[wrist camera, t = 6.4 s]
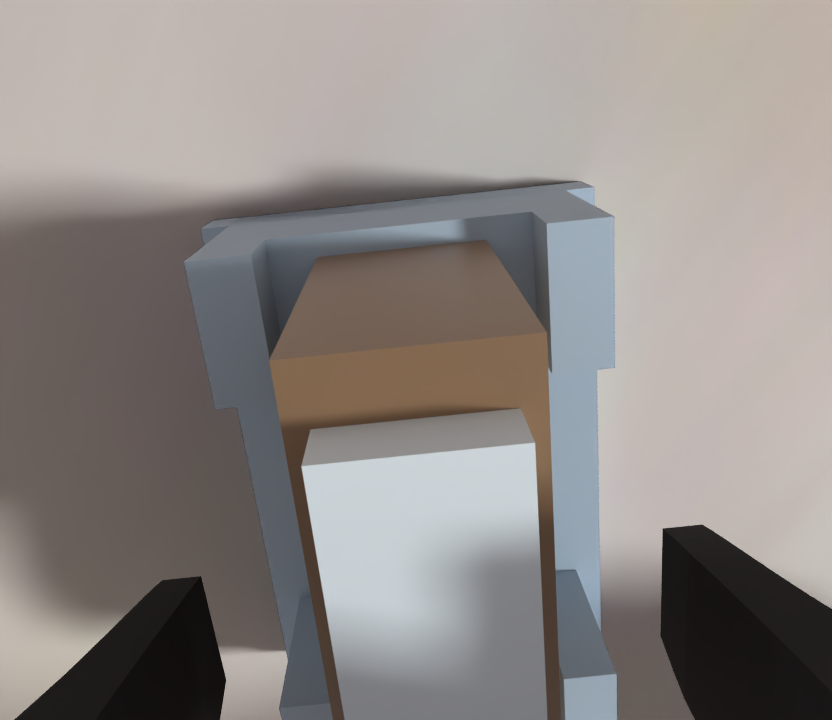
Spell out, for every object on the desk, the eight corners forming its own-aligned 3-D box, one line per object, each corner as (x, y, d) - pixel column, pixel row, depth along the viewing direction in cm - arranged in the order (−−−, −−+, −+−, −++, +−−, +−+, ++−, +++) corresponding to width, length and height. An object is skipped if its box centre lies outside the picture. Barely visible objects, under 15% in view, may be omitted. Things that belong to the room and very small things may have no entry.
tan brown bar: (516, 705, 15) (583, 1040, 10) (384, 719, 15) (380, 1059, 10) (486, 240, 12) (564, 360, 6) (318, 257, 12) (254, 390, 6)
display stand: (590, 621, 18) (644, 765, 14) (297, 651, 18) (271, 803, 14) (581, 181, 15) (651, 212, 11) (212, 220, 15) (146, 266, 11)
